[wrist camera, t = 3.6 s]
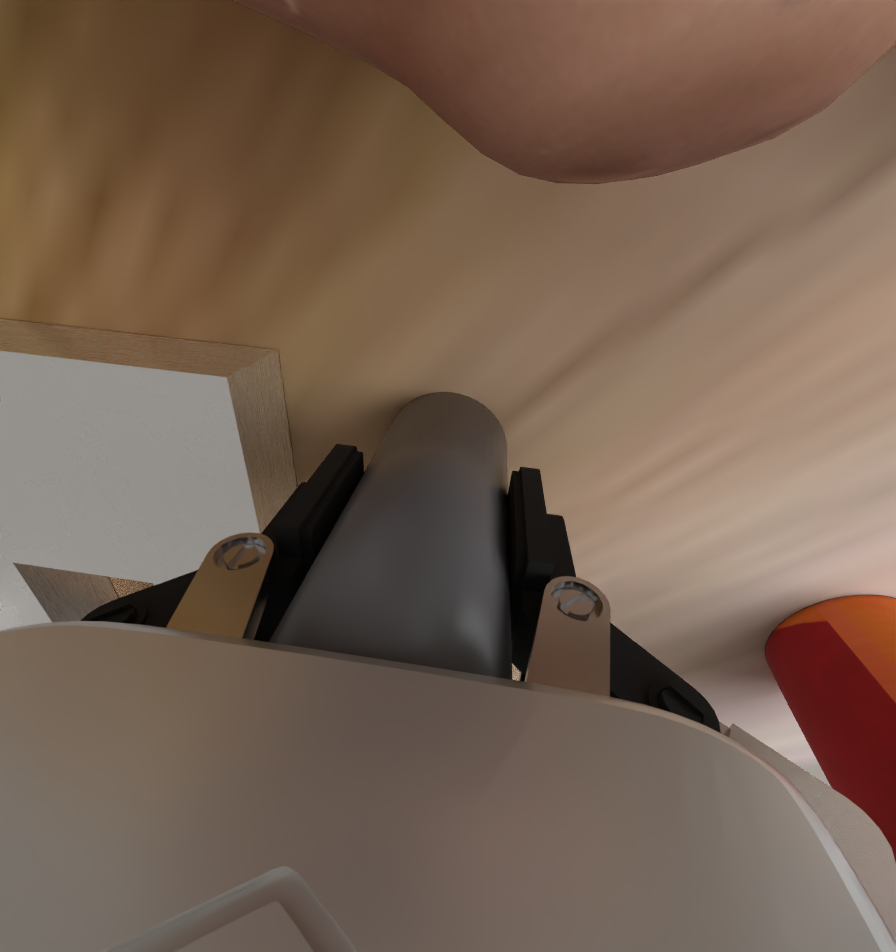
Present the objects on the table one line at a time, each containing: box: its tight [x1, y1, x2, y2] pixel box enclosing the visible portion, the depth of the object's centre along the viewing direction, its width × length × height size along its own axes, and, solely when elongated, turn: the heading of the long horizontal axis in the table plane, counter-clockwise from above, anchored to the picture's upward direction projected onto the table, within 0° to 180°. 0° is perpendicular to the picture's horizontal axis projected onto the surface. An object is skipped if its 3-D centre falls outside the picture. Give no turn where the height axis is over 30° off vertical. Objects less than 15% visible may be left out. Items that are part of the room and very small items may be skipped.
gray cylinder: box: [269, 392, 512, 680], centre depth 11 cm, size 4×4×10 cm
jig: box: [0, 319, 297, 631], centre depth 18 cm, size 24×16×5 cm, turn 175°
